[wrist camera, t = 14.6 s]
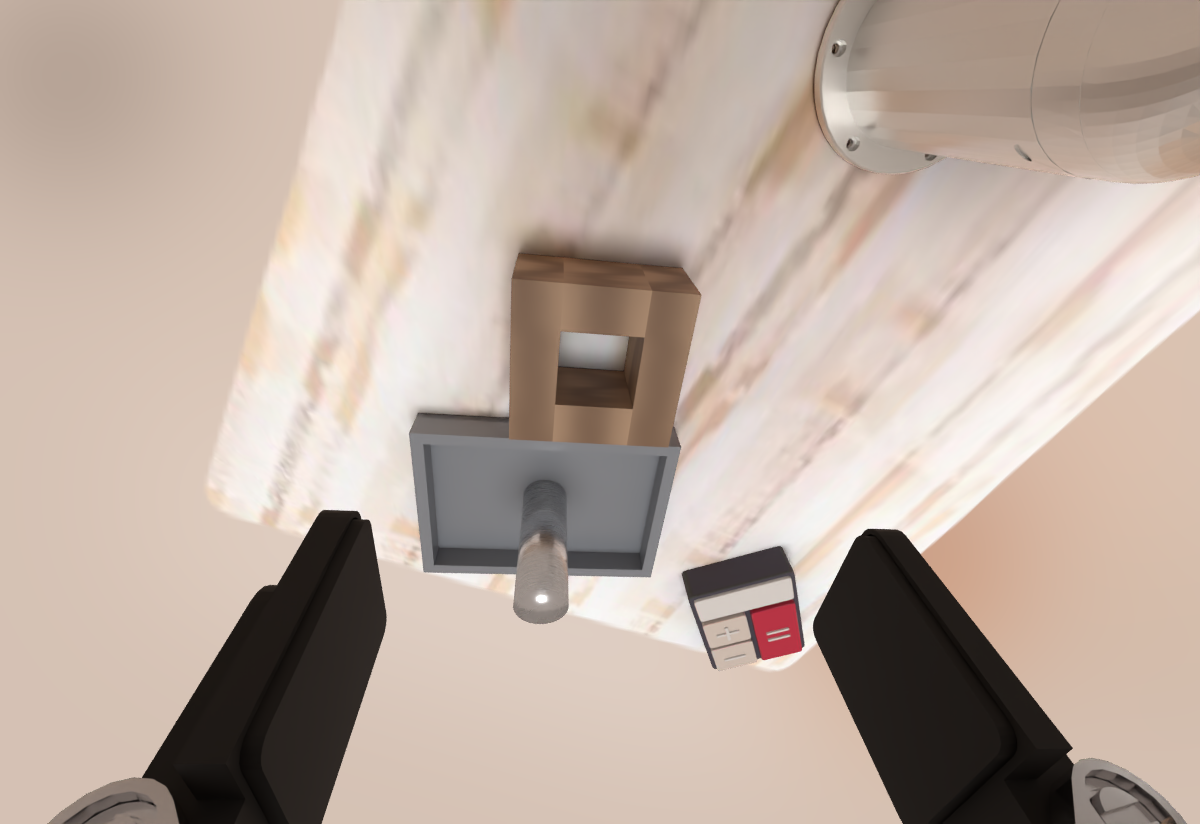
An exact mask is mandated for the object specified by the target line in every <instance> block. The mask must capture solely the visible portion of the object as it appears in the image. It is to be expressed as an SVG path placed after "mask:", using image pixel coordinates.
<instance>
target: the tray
mask: <svg viewBox="0 0 1200 824" xmlns="http://www.w3.org/2000/svg"><path fill="white" fill-rule="evenodd" d="M409 437H410V446H411V456H412V465H413V475H414V484H415V494H416V503H417V513H418V522H419V532H420V541H421V551H422V560H423V570H424V572H434V573H480V574H516V572H517V561H518V550H519V539H520V528H521V517H522V506H523V495H524V491H525V489H526V488H527V487H528V486H529V485H530V484H532V483H534V482H536V481H540V480H550V481H554V482H557V483H558V484H560V485H561V486H562V487H563V488H564V489H565V491H566V494H567V546H568V575H571V576H617V577H651V573H652V569H653V565H654V561H655V556H656V552H657V548H658V543H659V539H660V535H661V531H662V526H663V522H664V518H665V513H666V509H667V505H668V501H669V496H670V492H671V488H672V484H673V479H674V475H675V471H676V466H677V462H678V458H679V454H680V449H681V446H680V443H679V440H678V437H677V434H676V431H675V428H674V427H673V428H672V433H671V437H670V442H669V446H668V447H648V446H629V445H609V444H590V443H570V442H550V441H531V440H511V439H509V418H497V417H479V416H461V415H443V414H425V413H418V415H417V417H416V419H415V421H414V424H413V426H412V428H411V430H410V432H409Z"/></svg>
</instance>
